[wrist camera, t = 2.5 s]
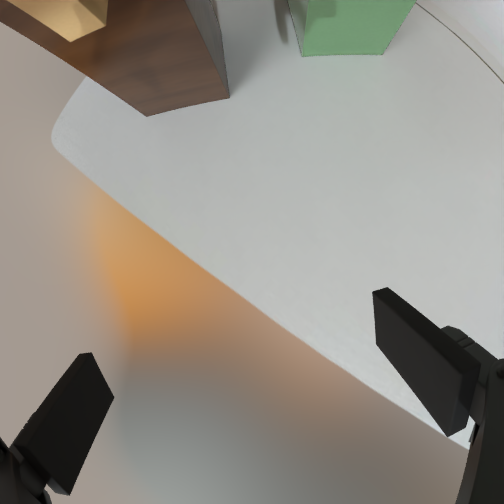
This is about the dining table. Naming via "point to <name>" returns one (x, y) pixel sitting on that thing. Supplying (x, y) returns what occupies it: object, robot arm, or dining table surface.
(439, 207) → the dining table surface
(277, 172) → the dining table surface
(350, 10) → the green stand
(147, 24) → the stand
